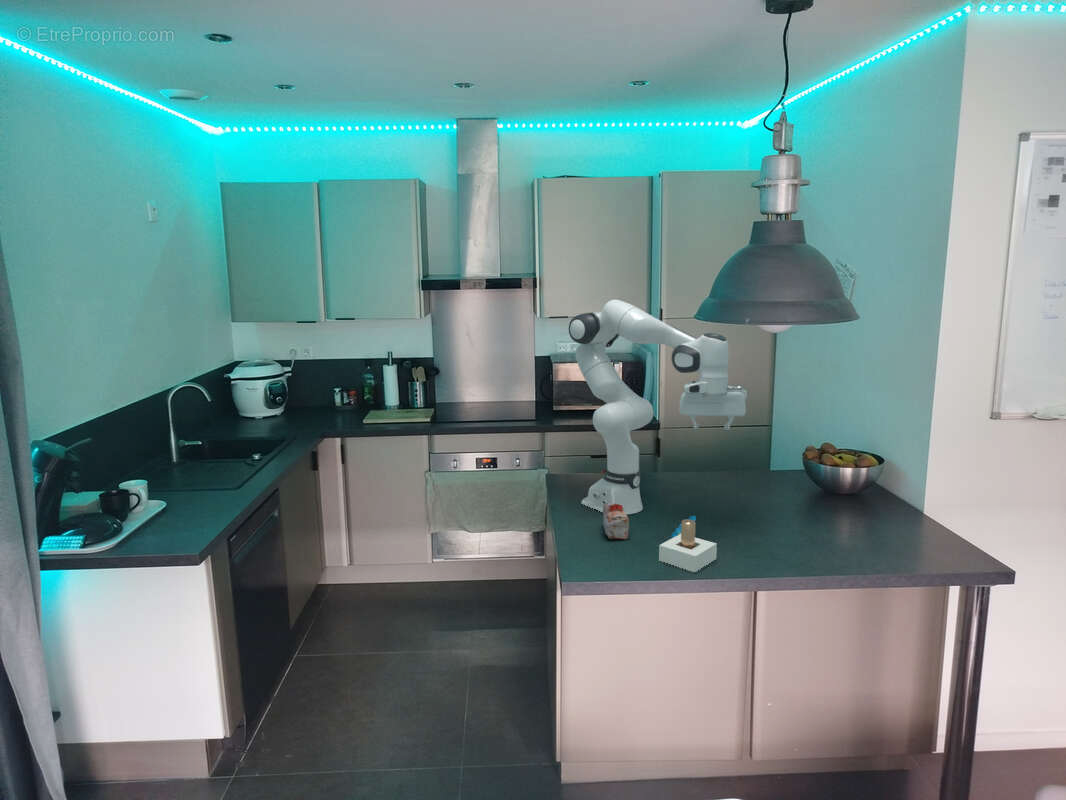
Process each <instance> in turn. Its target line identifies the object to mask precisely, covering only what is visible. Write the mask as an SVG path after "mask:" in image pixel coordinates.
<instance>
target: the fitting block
mask: <svg viewBox="0 0 1066 800" xmlns="http://www.w3.org/2000/svg"><path fill="white" fill-rule="evenodd" d="M717 546H718V543H716V542H714V541H713V542H712V541H709V540H705V539H701V538H698V537H696V538H695V548H693V549H692V550H691V549H688V548H684V547H681V534H679V535H677V536H676V537H674V538H672V537H671V538H670V539H668V540H666V541H664V542H663V543H661V544H659V545H658V562H660V561H662V562H661V563H663V562H665V563H664V564H666V563H668V564H667V565H669V564H671V565H670V566H672V565H674V566H673V567H675V566H677V567H676V568H678V567H679V568H678V569H682V568H683V569H682V570H685V569H686V570H685V571H688V572H691V573H694V572H696V573H697V572H699V571H701V570H702V569H703V567H704V566H705V567H707V566H709V565H710V564H712V563H713V562H715V561H716V560H717V549H718V548H717ZM714 560H715V561H714ZM712 561H713V562H712ZM711 562H712V563H711ZM709 563H710V564H709ZM706 565H707V566H706ZM705 567H704V568H705ZM701 568H702V569H701ZM698 570H699V571H698Z"/></svg>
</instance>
